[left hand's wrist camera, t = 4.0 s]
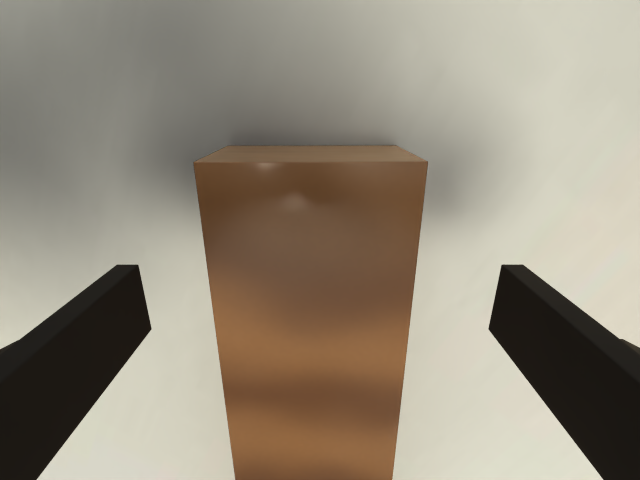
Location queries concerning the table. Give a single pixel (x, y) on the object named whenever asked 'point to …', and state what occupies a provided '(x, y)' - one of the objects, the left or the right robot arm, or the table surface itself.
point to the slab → (312, 302)
